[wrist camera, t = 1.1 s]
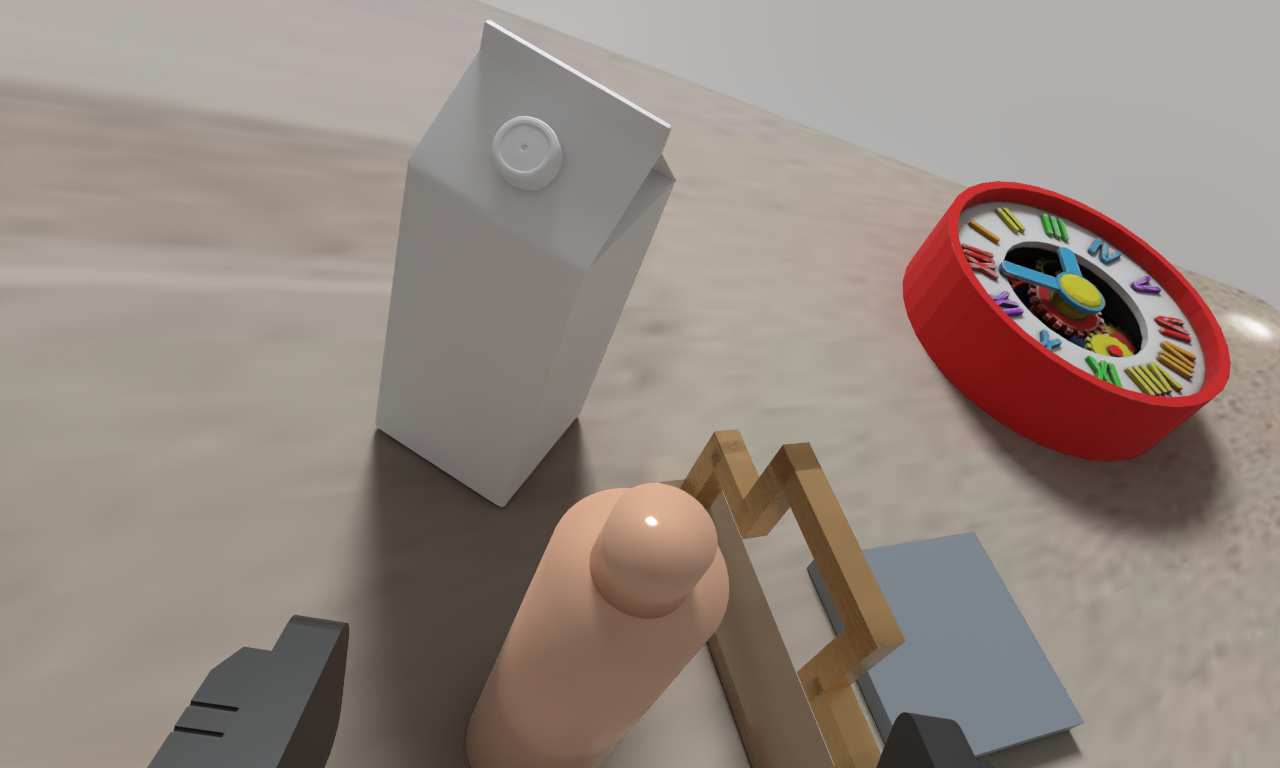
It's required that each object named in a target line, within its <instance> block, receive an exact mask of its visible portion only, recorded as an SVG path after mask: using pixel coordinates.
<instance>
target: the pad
mask: <svg viewBox="0 0 1280 768" xmlns="http://www.w3.org/2000/svg"><path fill="white" fill-rule="evenodd" d="M862 552H863V554H864V556H865V558H866V560H867V563H868V565H869V567H870V569H871V571H872V573H873V575H874V577H875V579H876V581H877V583H878V585H879V587H880V589H881V591H882V593H883V595H884V597H885V599H886V601H887V603H888V606H889V608H890V610H891V612H892V614H893V616H894V618H895V620H896V622H897V624H898V626H899V628H900V630H901V632H902V634H903V636H904V638H905V640H906V642H905V643H903V644H902V645H901V646H899V647H898V648H897V649H896V650H894V651H893V652H892V653H891V654H889V655H888V656H887V657H885V658H884V659H883V660H882V661H880V662H879V663H878V664H877V665H875V666H874V667H873V668H871V669H870V670H869V671H868V672H866V673H865V674H864V675H863V676H861V677H860V678H859V679H857V681H858V683H859V686H860V688H861V690H862V692H863V695H864V697H865V699H866V701H867V704H868V706H869V708H870V710H871V713H872V715H873V717H874V719H875V722H876V724H877V726H878V728H879V731H880V733H881V735H882V737H883V740H884V742H885V744H886V741H887V739H888V736H889V734H890V731H891V729H892V726H893V724H894V722H895V720H896V718H897V717H898V716H899V715H900V714H901V713H903V712H908V713H914V714H920V715H927V716H933V717H940V718H946V719H952V720H954V721H956V722H957V723H958V724H959V726H960V727H961V729H962V731H963V733H964V735H965V737H966V739H967V741H968V743H969V745H970V747H971V749H972V751H973V753H974V755H975V757H976V758H979V757H982V756H985V755H989V754H992V753H995V752H998V751H1002V750H1005V749H1008V748H1012V747H1015V746H1018V745H1021V744H1025V743H1028V742H1031V741H1034V740H1038V739H1041V738H1044V737H1048V736H1051V735H1054V734H1057V733H1061V732H1064V731H1067V730H1070V729H1072V728H1074V727H1076V726H1078V725H1080V724H1082V723H1084V722H1083V720H1082V718H1081V717H1080V715H1079V713H1078V711H1077V710H1076V708H1075V706H1074V704H1073V703H1072V701H1071V699H1070V697H1069V696H1068V694H1067V692H1066V690H1065V689H1064V687H1063V685H1062V684H1061V682H1060V680H1059V678H1058V677H1057V675H1056V673H1055V671H1054V670H1053V668H1052V666H1051V664H1050V663H1049V661H1048V659H1047V658H1046V656H1045V654H1044V652H1043V651H1042V649H1041V647H1040V645H1039V644H1038V642H1037V640H1036V638H1035V637H1034V635H1033V633H1032V631H1031V630H1030V628H1029V626H1028V625H1027V623H1026V621H1025V619H1024V618H1023V616H1022V614H1021V612H1020V611H1019V609H1018V607H1017V605H1016V604H1015V602H1014V600H1013V598H1012V597H1011V595H1010V593H1009V592H1008V590H1007V588H1006V586H1005V585H1004V583H1003V581H1002V579H1001V578H1000V576H999V574H998V572H997V571H996V569H995V567H994V565H993V564H992V562H991V560H990V559H989V557H988V555H987V553H986V552H985V550H984V548H983V546H982V545H981V543H980V541H979V539H978V538H977V536H976V534H975V532H971V533H964V534H958V535H952V536H946V537H940V538H934V539H928V540H921V541H915V542H909V543H903V544H897V545H891V546H884V547H878V548H872V549H866V550H862ZM807 569H808V571H809V573H810V575H811V578H812V580H813V582H814V584H815V587H816V589H817V591H818V593H819V596H820V598H821V600H822V602H823V605H824V607H825V609H826V611H827V614H828V616H829V618H830V620H831V623H832V625H833V627H834V629H835V632H836V634H837V636H838V635H839V634H840V633H841V632H843V631H844V630H845V626H844V624H843V622H842V620H841V618H840V615H839V613H838V611H837V609H836V607H835V604H834V602H833V600H832V598H831V596H830V593H829V591H828V589H827V587H826V584H825V582H824V580H823V578H822V576H821V573H820V571H819V569H818V567H817V565H816V562H815V560H813V561H812V563H811V564H810V565H809V566H808V567H807Z"/></svg>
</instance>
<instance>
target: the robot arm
mask: <svg viewBox="0 0 1280 768" xmlns="http://www.w3.org/2000/svg"><path fill="white" fill-rule="evenodd" d="M348 640H349V625H348V623H343V622H337V621H331V620H324V619H318V618H311V617H305V616H299V615H294V616H292V618H291V619H290V620H289V622H288V623H287V625H286V627H285V629H284V630H283V632H282V634H281V636H280V637H279V639H278V641H277V643H276V644H275V646H274V648H273V649H272V651H268V650H261V649H255V648H248V647H243V648H241V649H240V650H239V651H237V652H236V653H234V654H233V655H232V656H230V657H229V658H227V659H226V660H225V661H223V662H222V663H220V664H219V665H218V666H216V667H215V668H213V669H212V670H211V671H210V672H209V674H208V676H207V677H206V679H205V680H204V682H203V683H202V685H201V686H200V688H199V689H198V691H197V692H196V694H195V695H194V697H193V699H192V700H191V704H190V706H189V707H187V708H186V709H185V711H184V712H183V714H182V715H181V717H180V718H179V720H178V722H177V723H176V725H175V728H174V731H173V733H172V732H170V734H169V735H168V737H167V738H166V740H165V742H164V743H163V745H162V746H161V748H160V749H159V751H158V752H157V754H156V755H155V757H154V758H153V760H152V761H151V763H150V765H149V766H148V768H324V767H325V765H326V763H327V760H328V757H329V755H330V752H331V749H332V746H333V743H334V739H335V735H336V731H337V727H338V723H339V718H340V712H341V704H342V695H343V686H344V677H345V668H346V659H347V649H348ZM876 768H994V767H993V766H992V765H991V764H990V763H989V762H985V761H978V760H977V759H976V757H975V755H974V753H973V751H972V749H971V747H970V745H969V743H968V741H967V739H966V737H965V735H964V733H963V731H962V729H961V727H960V726H959V724H958V723H957V722H956V721H954V720H952V719H946V718H940V717H933V716H927V715H920V714H914V713H908V712H903V713H901V714H900V715H899V716H898V717H897V718H896V720H895V722H894V724H893V726H892V729H891V731H890V734H889V736H888V739H887V741H886V744H885V747H884V749H883V752H882V754H881V757H880V759H879V762H878V764H877V767H876Z"/></svg>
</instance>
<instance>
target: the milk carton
mask: <svg viewBox="0 0 1280 768" xmlns="http://www.w3.org/2000/svg"><path fill="white" fill-rule="evenodd" d="M670 131H671V125H670V124H668V123H666V122H664V121H663V120H661V119H659V118H657V117H656V116H654V115H652V114H651V113H649V112H647V111H645V110H644V109H642V108H640V107H639V106H637V105H635V104H633V103H632V102H630V101H628V100H626V99H625V98H623V97H621V96H620V95H618V94H616V93H614V92H613V91H611V90H609V89H607V88H606V87H604V86H602V85H601V84H599V83H597V82H595V81H594V80H592V79H590V78H588V77H587V76H585V75H583V74H582V73H580V72H578V71H576V70H575V69H573V68H571V67H570V66H568V65H566V64H564V63H563V62H561V61H559V60H557V59H556V58H554V57H552V56H551V55H549V54H547V53H545V52H544V51H542V50H540V49H538V48H537V47H535V46H533V45H532V44H530V43H528V42H526V41H525V40H523V39H521V38H520V37H518V36H516V35H514V34H513V33H511V32H509V31H507V30H506V29H504V28H502V27H501V26H499V25H497V24H495V23H494V22H492V21H490V20H488V21H486V22H485V24H484V29H483V35H482V41H481V46H480V50H479V52H478V54H477V55H476V57H475V58H474V60H473V61H472V63H471V64H470V66H469V67H468V69H467V71H466V72H465V74H464V75H463V77H462V78H461V80H460V81H459V83H458V84H457V86H456V88H455V89H454V91H453V92H452V94H451V95H450V97H449V98H448V100H447V102H446V103H445V105H444V106H443V108H442V109H441V111H440V112H439V114H438V116H437V117H436V119H435V120H434V122H433V123H432V125H431V126H430V128H429V129H428V131H427V133H426V134H425V136H424V137H423V139H422V140H421V142H420V143H419V145H418V147H417V148H416V150H415V151H414V153H413V154H412V156H411V158H410V159H409V161H408V168H407V174H406V181H405V189H404V196H403V204H402V212H401V220H400V228H399V236H398V244H397V252H396V260H395V268H394V276H393V284H392V292H391V300H390V308H389V316H388V324H387V332H386V340H385V348H384V356H383V364H382V372H381V380H380V388H379V396H378V404H377V412H376V421H375V423H376V426H377V427H378V428H379V429H380V430H382V431H383V432H385V433H386V434H388V435H389V436H391V437H392V438H394V439H396V440H397V441H399V442H400V443H402V444H403V445H405V446H406V447H408V448H409V449H411V450H412V451H414V452H416V453H417V454H419V455H420V456H422V457H423V458H425V459H426V460H428V461H429V462H431V463H432V464H434V465H436V466H437V467H439V468H440V469H442V470H443V471H445V472H446V473H448V474H449V475H451V476H453V477H454V478H456V479H457V480H459V481H460V482H462V483H463V484H465V485H466V486H468V487H469V488H471V489H473V490H474V491H476V492H477V493H479V494H480V495H482V496H483V497H485V498H486V499H488V500H490V501H491V502H493V503H494V504H496V505H498V506H500V507H504V506H505V505H506V504H507V502H508V501H509V500H510V499H511V498H512V496H513V495H514V494H515V493H516V491H517V490H518V489H519V488H520V486H521V485H522V484H523V483H524V482H525V480H526V479H527V478H528V477H529V475H530V474H531V473H532V472H533V470H534V469H535V468H536V467H537V465H538V464H539V463H540V462H541V461H542V459H543V458H544V457H545V456H546V454H547V453H548V452H549V451H550V449H551V448H552V447H553V446H554V445H555V443H556V442H557V441H558V440H559V438H560V437H561V436H562V435H563V433H564V432H565V431H566V430H567V428H568V427H569V426H570V425H571V424H572V422H573V421H574V420H575V419H576V417H577V416H578V415H579V414H580V412H581V410H582V407H583V405H584V402H585V400H586V398H587V395H588V393H589V390H590V388H591V385H592V383H593V380H594V378H595V376H596V373H597V371H598V368H599V366H600V363H601V361H602V359H603V356H604V354H605V351H606V349H607V346H608V344H609V341H610V339H611V337H612V334H613V332H614V329H615V327H616V324H617V322H618V319H619V317H620V315H621V312H622V310H623V307H624V305H625V302H626V300H627V298H628V295H629V293H630V290H631V288H632V285H633V283H634V280H635V278H636V276H637V273H638V271H639V268H640V266H641V263H642V261H643V259H644V256H645V254H646V251H647V249H648V246H649V244H650V241H651V239H652V237H653V234H654V232H655V229H656V227H657V224H658V222H659V219H660V217H661V215H662V212H663V210H664V207H665V205H666V202H667V200H668V198H669V195H670V193H671V190H672V188H673V185H674V183H675V181H676V179H675V178H674V176H673V174H672V172H671V170H670V168H669V166H668V165H667V163H666V161H665V159H664V157H663V155H662V152H663V149H664V147H665V144H666V141H667V139H668V136H669V134H670Z"/></svg>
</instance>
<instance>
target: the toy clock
mask: <svg viewBox="0 0 1280 768" xmlns="http://www.w3.org/2000/svg"><path fill="white" fill-rule="evenodd" d="M903 299H904V303H905V307H906V311H907V315H908V318H909V320H910V322H911V325H912V327H913V329H914V331H915V334H916V336H917V337H918V339H919V340H920V342H921V344H922V345H923V347H924V348H925V350H926V352H927V353H928V355H929V356H930V358H931V359H932V360H933V361H934V362H935V364H936V365H937V366H938V367H939V369H940V370H941V371H942V372H943V374H944V375H945V376H946V377H947V378H948V379H949V380H950V381H951V382H952V383H953V384H954V385H955V386H956V387H957V388H958V389H959V390H960V391H961V392H962V393H963V394H964V395H965V396H966V397H967V398H969V399H970V400H971V401H972V402H974V403H975V404H976V405H977V406H979V407H980V408H981V409H982V410H983V411H985V412H986V413H987V414H988V415H990V416H991V417H993V418H994V419H996V420H997V421H999V422H1001V423H1002V424H1004V425H1005V426H1007V427H1008V428H1010V429H1011V430H1013V431H1014V432H1016V433H1018V434H1020V435H1022V436H1024V437H1026V438H1028V439H1030V440H1032V441H1034V442H1036V443H1038V444H1040V445H1042V446H1045V447H1048V448H1050V449H1053V450H1056V451H1058V452H1061V453H1064V454H1067V455H1071V456H1075V457H1080V458H1084V459H1088V460H1099V461H1118V460H1125V459H1131V458H1133V457H1136V456H1138V455H1141V454H1143V453H1145V452H1147V451H1148V450H1149V449H1150V448H1152V447H1153V446H1154V445H1155V444H1157V443H1158V442H1159V441H1160V440H1162V439H1163V438H1164V437H1165V436H1167V435H1168V434H1169V433H1171V432H1172V431H1173V430H1174V429H1176V428H1177V427H1178V426H1179V425H1181V424H1182V423H1183V422H1184V421H1186V420H1187V419H1188V418H1189V417H1191V416H1192V415H1193V414H1194V413H1196V412H1197V411H1198V410H1199V409H1201V408H1202V407H1203V406H1204V405H1206V404H1207V403H1208V402H1209V401H1211V400H1212V399H1213V398H1214V397H1215V396H1216V395H1218V394H1219V393H1220V392H1221V391H1222V390H1223V389H1224V387H1225V385H1226V383H1227V381H1228V379H1229V373H1230V364H1231V363H1230V357H1229V351H1228V346H1227V343H1226V340H1225V338H1224V335H1223V332H1222V330H1221V328H1220V326H1219V324H1218V322H1217V321H1216V319H1215V317H1214V315H1213V314H1212V312H1211V310H1210V309H1209V307H1208V306H1207V305H1206V303H1205V302H1204V301H1203V299H1202V298H1201V297H1200V295H1199V294H1198V293H1197V291H1196V290H1195V289H1194V288H1193V287H1192V286H1191V284H1190V283H1189V282H1188V281H1187V280H1186V279H1185V278H1184V277H1183V275H1182V274H1181V273H1180V272H1179V271H1178V270H1177V269H1175V268H1174V267H1173V266H1172V265H1171V264H1170V263H1169V262H1168V261H1167V260H1166V259H1165V258H1164V257H1163V256H1162V255H1160V254H1159V253H1158V252H1157V251H1156V250H1154V249H1153V248H1152V247H1150V246H1149V245H1148V244H1147V243H1146V242H1145V241H1143V240H1142V239H1141V238H1139V237H1138V236H1136V235H1135V234H1133V233H1132V232H1131V231H1129V230H1128V229H1126V228H1125V227H1123V226H1122V225H1120V224H1119V223H1117V222H1115V221H1114V220H1112V219H1110V218H1109V217H1107V216H1105V215H1103V214H1102V213H1100V212H1098V211H1096V210H1094V209H1092V208H1090V207H1088V206H1087V205H1084V204H1083V203H1081V202H1078V201H1076V200H1074V199H1071V198H1068V197H1066V196H1063V195H1061V194H1058V193H1056V192H1053V191H1050V190H1046V189H1043V188H1040V187H1036V186H1032V185H1027V184H1021V183H1016V182H1000V181H997V182H988V183H981V184H978V185H975V186H972V187H969V188H968V189H966V190H965V191H964V192H962V193H961V194H959V195H958V196H957V198H956V199H955V200H954V202H953V203H952V205H951V206H950V207H949V209H948V210H947V211H946V213H945V214H944V216H943V217H942V218H941V220H940V221H939V222H938V224H937V225H936V227H935V228H934V229H933V231H932V232H931V233H930V235H929V236H928V238H927V239H926V240H925V242H924V243H923V244H922V246H921V247H920V249H919V250H918V251H917V253H916V254H915V256H914V257H913V258H912V260H911V262H910V263H909V265H908V266H907V268H906V272H905V275H904V279H903Z"/></svg>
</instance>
